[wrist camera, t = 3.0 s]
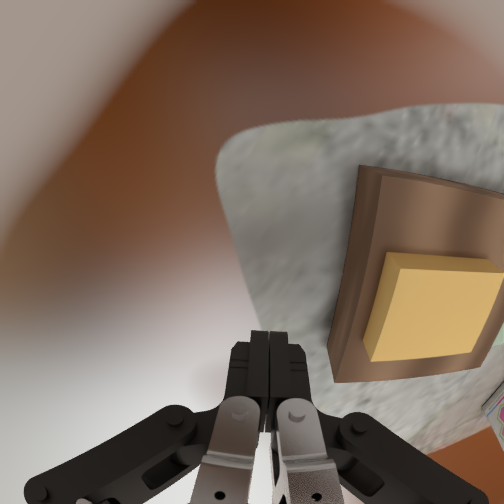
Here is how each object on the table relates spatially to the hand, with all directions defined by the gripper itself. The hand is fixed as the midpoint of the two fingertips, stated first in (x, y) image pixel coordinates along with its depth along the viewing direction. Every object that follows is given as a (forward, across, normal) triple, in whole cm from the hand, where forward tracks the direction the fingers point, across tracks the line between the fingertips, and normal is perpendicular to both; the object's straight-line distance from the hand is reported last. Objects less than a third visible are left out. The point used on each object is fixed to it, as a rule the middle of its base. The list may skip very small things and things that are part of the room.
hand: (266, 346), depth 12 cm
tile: (+4, -10, 0) cm, 11 cm away
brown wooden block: (+8, -12, 0) cm, 15 cm away
